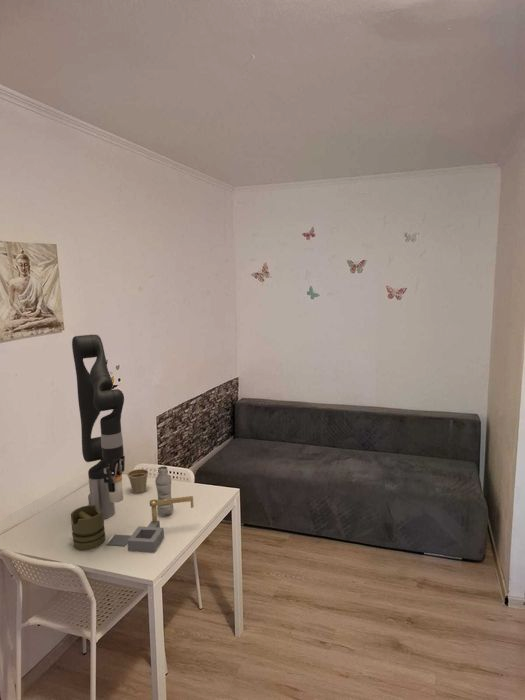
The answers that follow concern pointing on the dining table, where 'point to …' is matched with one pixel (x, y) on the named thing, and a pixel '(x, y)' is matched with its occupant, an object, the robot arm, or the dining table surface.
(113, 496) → the plug
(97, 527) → the piston
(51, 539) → the dining table surface
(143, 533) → the socket block
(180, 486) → the dining table surface
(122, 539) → the mat
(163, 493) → the plastic bottle
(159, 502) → the lever
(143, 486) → the flower pot
